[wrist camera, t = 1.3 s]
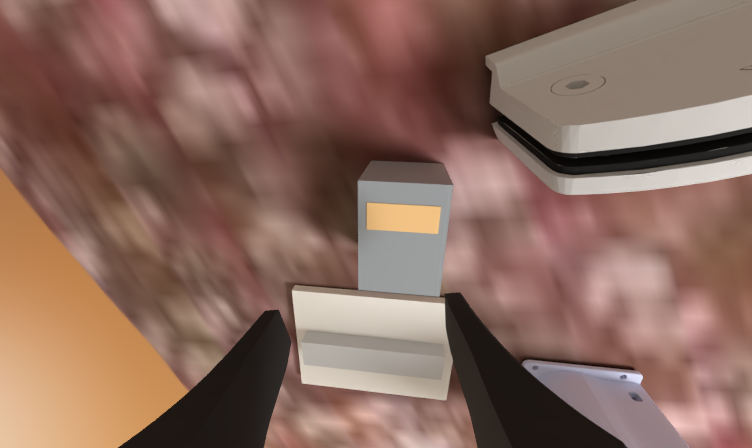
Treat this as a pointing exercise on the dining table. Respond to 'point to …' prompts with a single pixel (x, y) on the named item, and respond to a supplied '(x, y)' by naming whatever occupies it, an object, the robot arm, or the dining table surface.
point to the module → (403, 226)
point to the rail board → (372, 341)
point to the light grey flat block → (631, 97)
